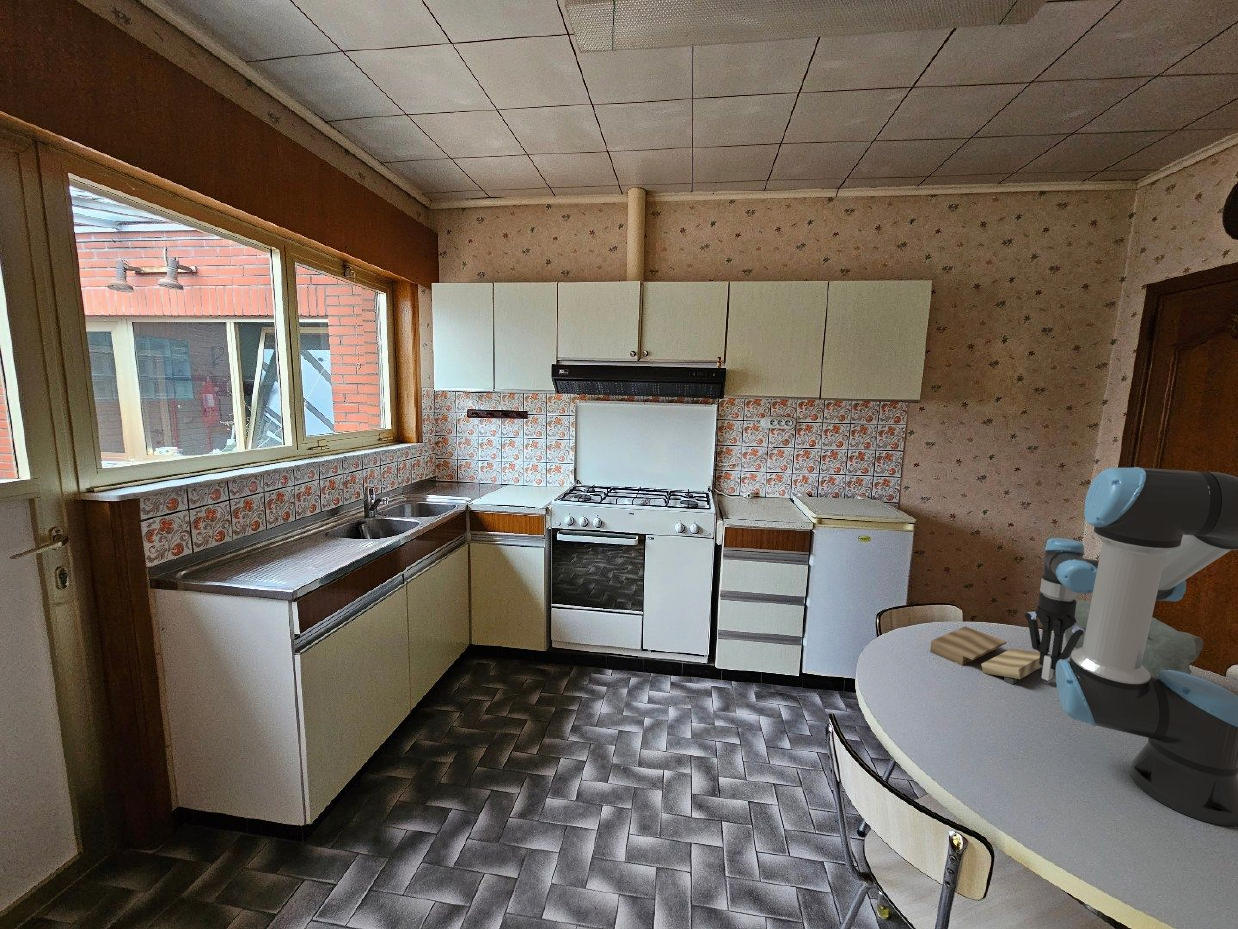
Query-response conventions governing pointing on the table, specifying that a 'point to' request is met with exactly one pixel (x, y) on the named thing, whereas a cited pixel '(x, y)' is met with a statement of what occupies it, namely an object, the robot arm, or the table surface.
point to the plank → (1013, 663)
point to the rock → (1153, 644)
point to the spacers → (1012, 679)
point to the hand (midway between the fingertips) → (1046, 678)
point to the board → (964, 645)
